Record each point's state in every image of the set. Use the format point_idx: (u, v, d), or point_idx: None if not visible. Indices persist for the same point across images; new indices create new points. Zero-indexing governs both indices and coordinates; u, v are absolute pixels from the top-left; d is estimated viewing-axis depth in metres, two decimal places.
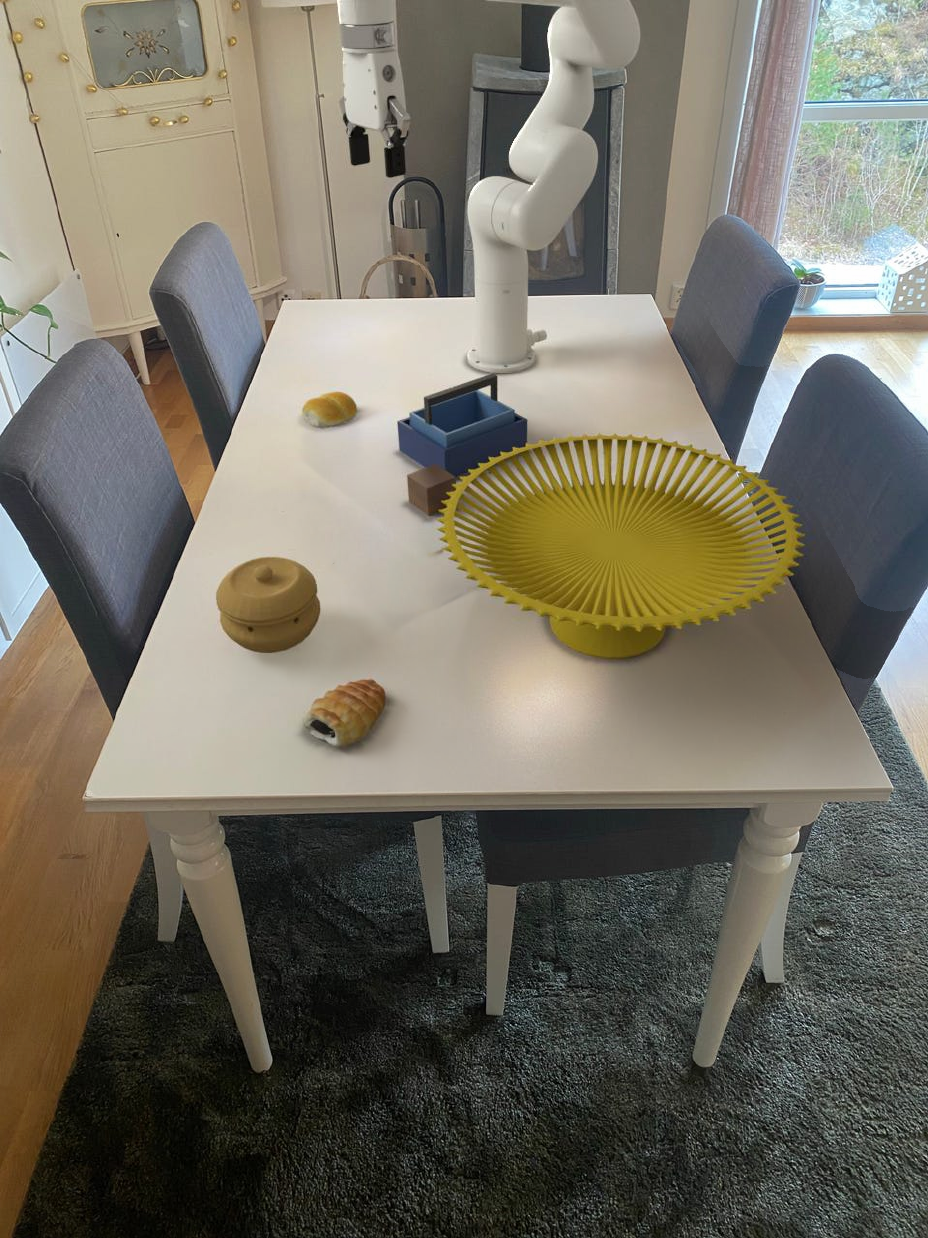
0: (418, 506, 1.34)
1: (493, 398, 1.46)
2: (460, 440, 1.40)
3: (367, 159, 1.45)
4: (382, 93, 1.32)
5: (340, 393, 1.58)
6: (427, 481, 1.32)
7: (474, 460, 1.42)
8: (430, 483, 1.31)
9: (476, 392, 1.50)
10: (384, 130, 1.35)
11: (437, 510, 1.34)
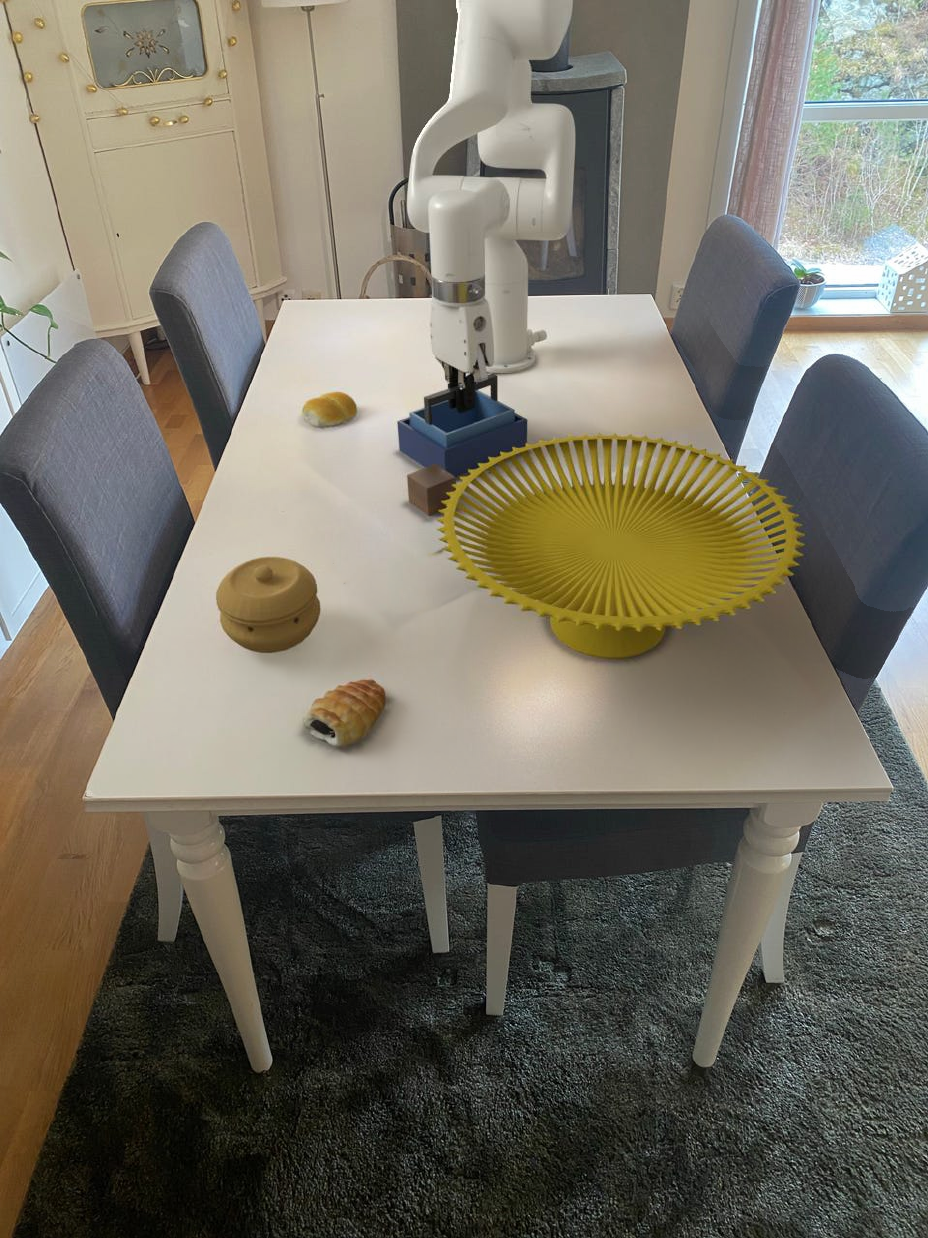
0: (418, 506, 1.34)
1: (493, 398, 1.46)
2: (460, 440, 1.40)
3: None
4: (472, 342, 1.32)
5: (340, 393, 1.58)
6: (427, 481, 1.32)
7: (474, 460, 1.42)
8: (430, 483, 1.31)
9: (476, 392, 1.49)
10: (462, 375, 1.38)
11: (437, 510, 1.34)
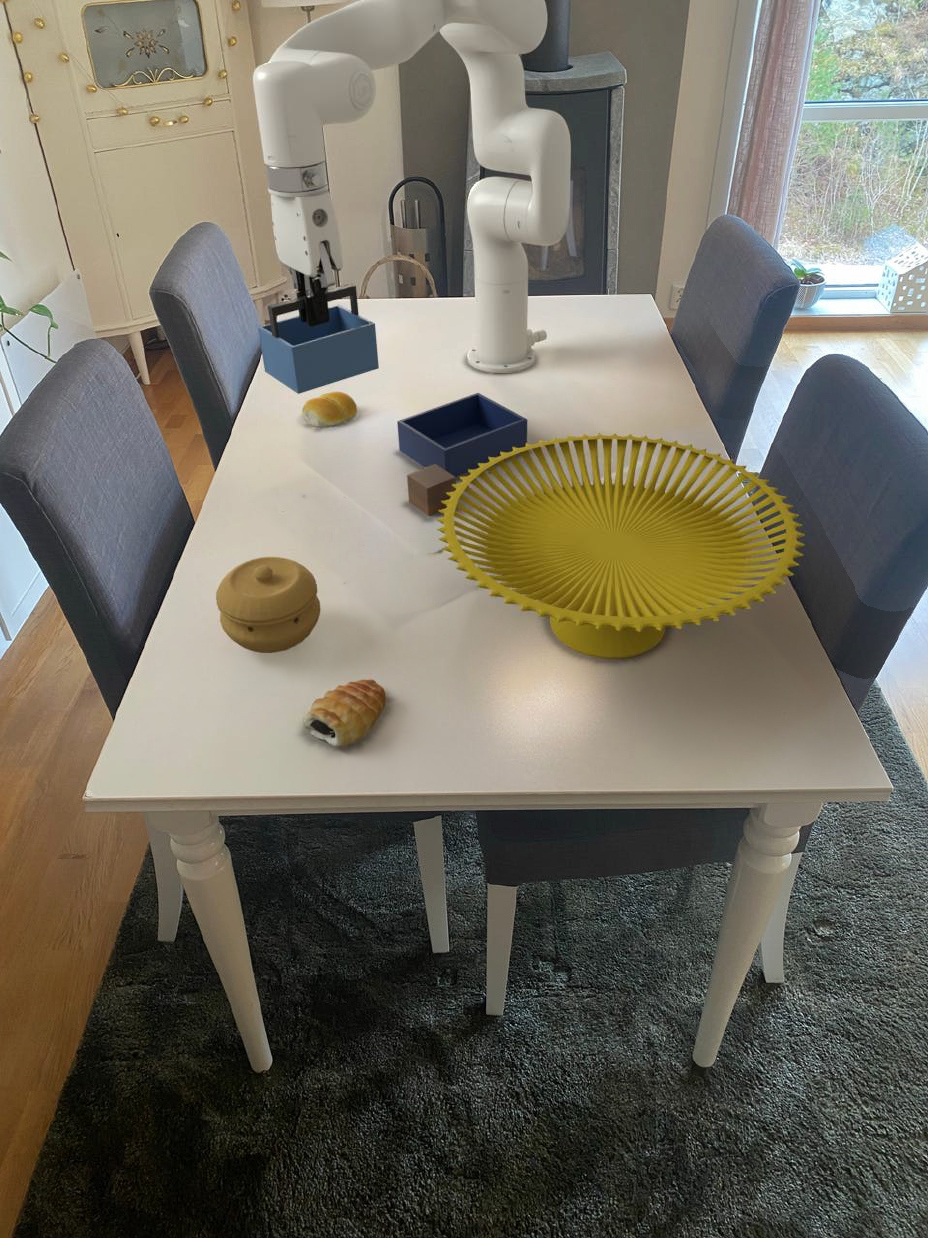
0: (418, 506, 1.34)
1: (354, 312, 1.32)
2: (309, 354, 1.25)
3: None
4: (313, 239, 1.18)
5: (340, 393, 1.58)
6: (427, 481, 1.32)
7: (474, 460, 1.42)
8: (430, 483, 1.31)
9: (338, 307, 1.35)
10: (308, 281, 1.23)
11: (437, 510, 1.34)
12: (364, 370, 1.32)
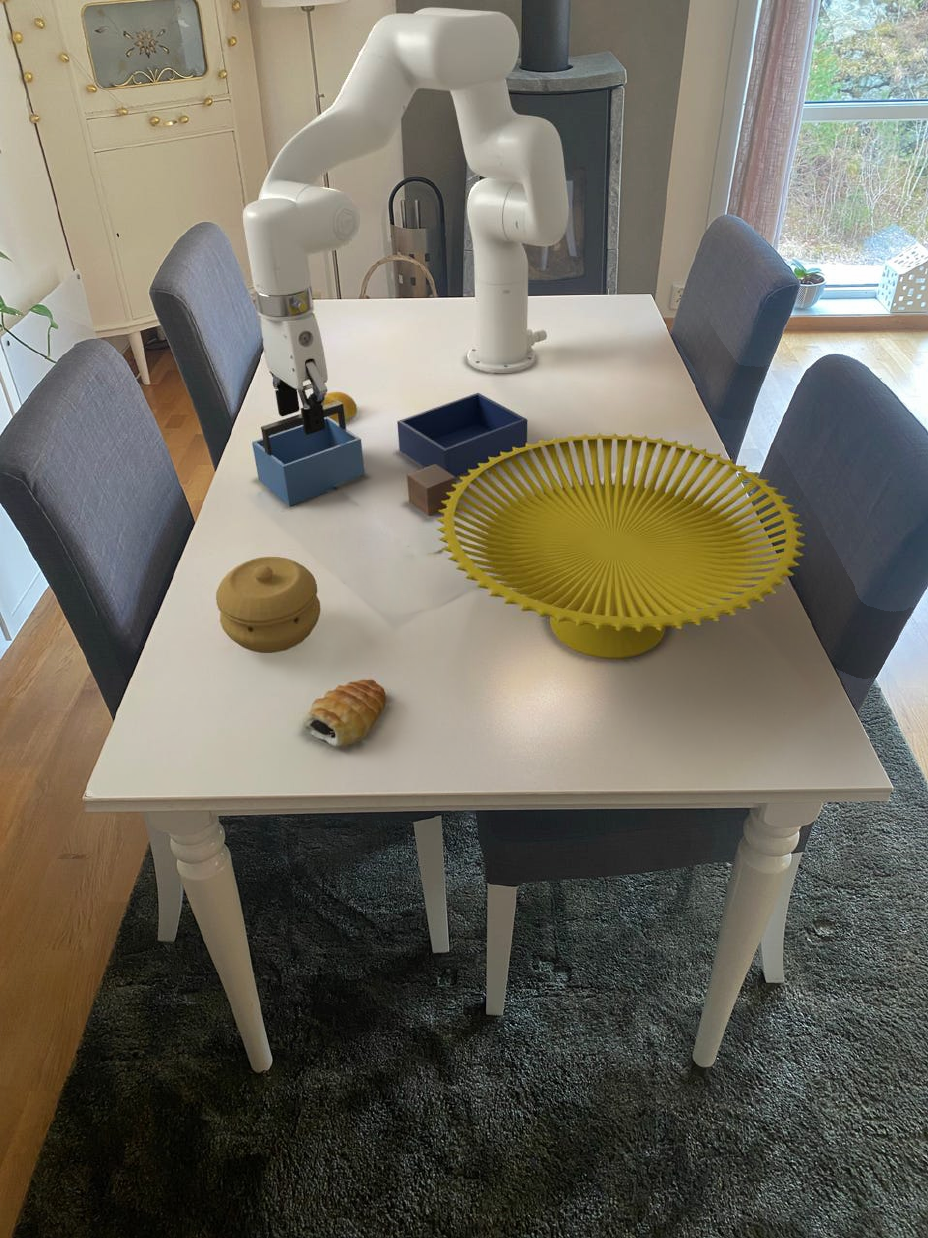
0: (418, 506, 1.34)
1: (341, 426, 1.42)
2: (300, 471, 1.35)
3: (296, 408, 1.39)
4: (299, 358, 1.26)
5: (340, 393, 1.58)
6: (427, 481, 1.32)
7: (474, 460, 1.42)
8: (430, 483, 1.31)
9: (327, 419, 1.45)
10: (301, 393, 1.30)
11: (437, 510, 1.34)
12: None
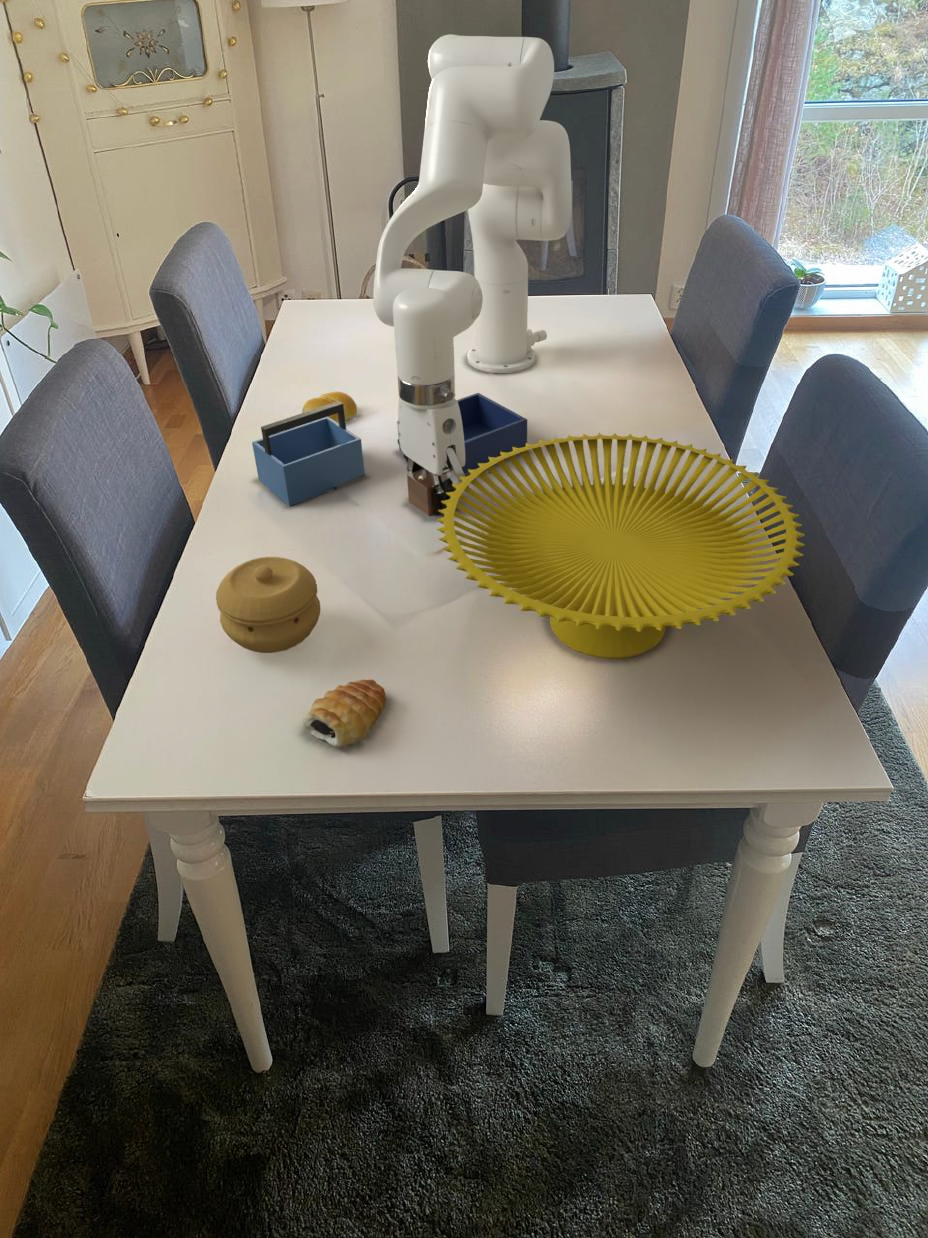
0: (418, 506, 1.34)
1: (341, 426, 1.42)
2: (300, 471, 1.35)
3: None
4: (441, 445, 1.25)
5: (340, 393, 1.58)
6: (427, 481, 1.32)
7: (474, 460, 1.42)
8: (430, 483, 1.31)
9: (327, 419, 1.45)
10: (437, 478, 1.29)
11: None
12: None
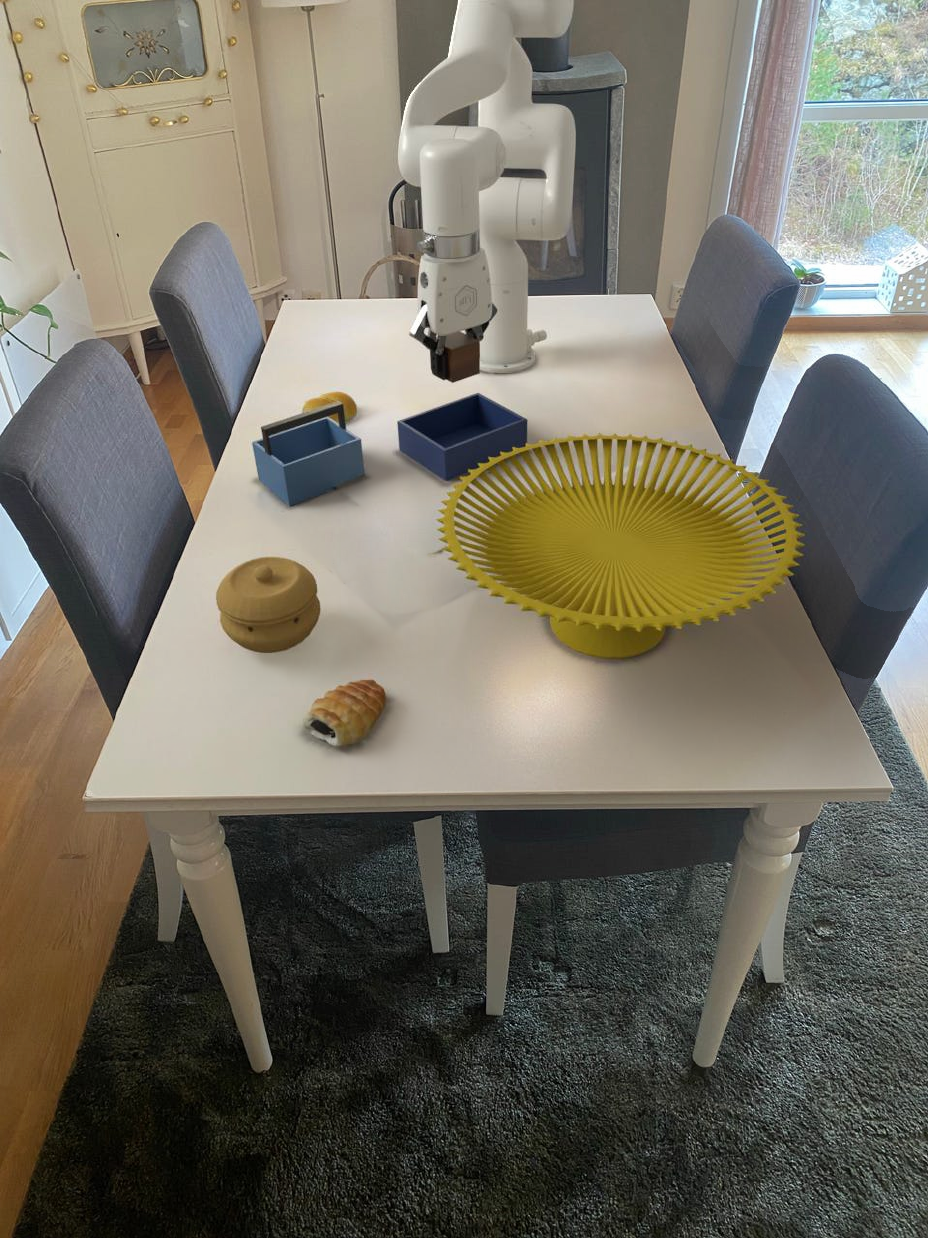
0: None
1: (341, 426, 1.42)
2: (300, 471, 1.35)
3: None
4: (418, 294, 1.29)
5: (340, 393, 1.58)
6: None
7: (474, 460, 1.42)
8: None
9: (327, 419, 1.45)
10: None
11: None
12: None
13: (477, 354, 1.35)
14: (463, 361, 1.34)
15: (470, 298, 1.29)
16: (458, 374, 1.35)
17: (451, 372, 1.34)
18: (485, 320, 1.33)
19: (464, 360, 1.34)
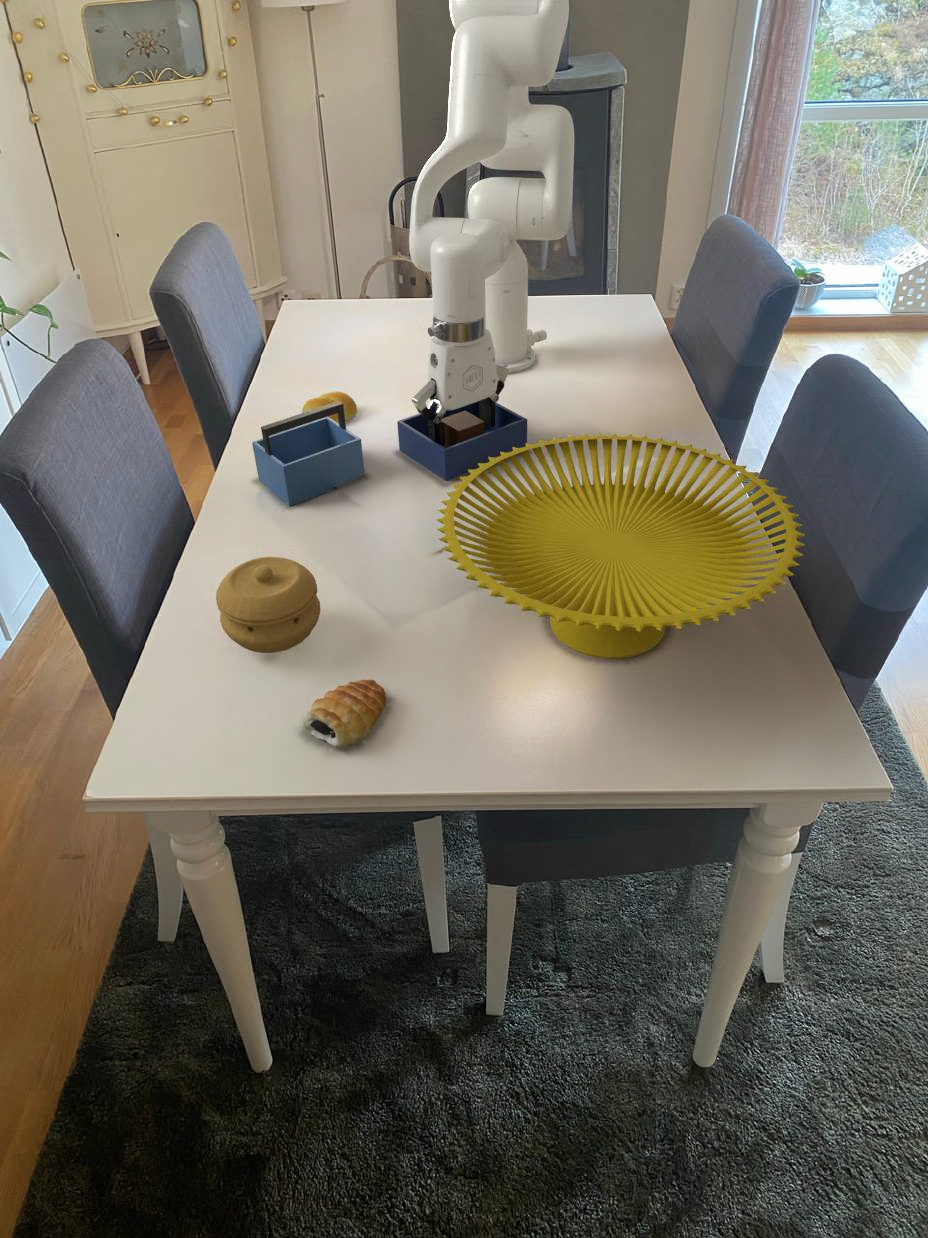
0: None
1: (341, 426, 1.42)
2: (300, 471, 1.35)
3: (489, 423, 1.48)
4: (428, 372, 1.38)
5: (340, 393, 1.58)
6: (451, 419, 1.45)
7: (474, 460, 1.42)
8: (448, 420, 1.45)
9: (327, 419, 1.45)
10: (431, 402, 1.41)
11: (446, 447, 1.47)
12: None
13: (483, 433, 1.46)
14: None
15: (476, 376, 1.39)
16: None
17: None
18: (490, 394, 1.42)
19: None
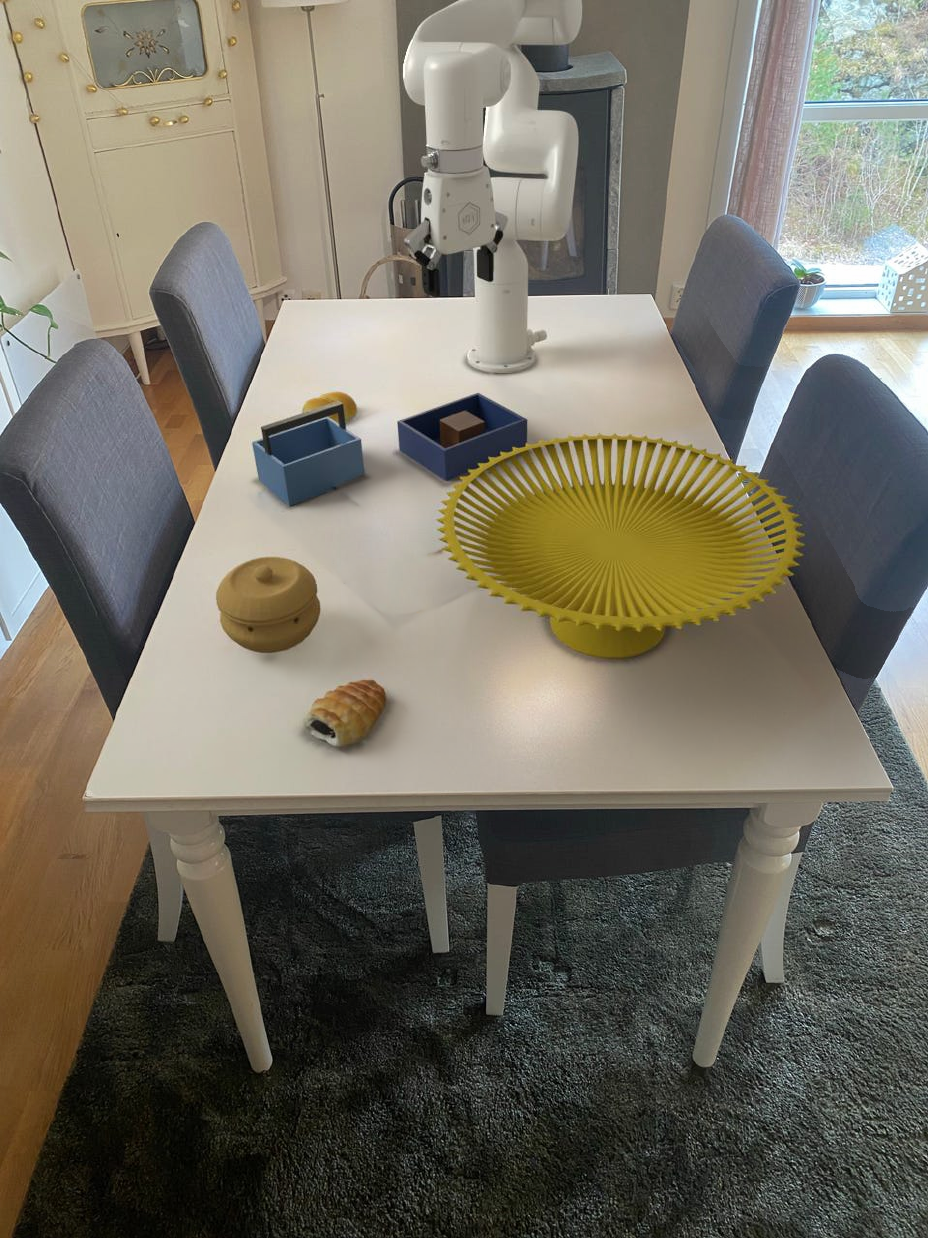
0: None
1: (341, 426, 1.42)
2: (300, 471, 1.35)
3: (487, 278, 1.38)
4: (422, 212, 1.29)
5: (340, 393, 1.58)
6: (451, 419, 1.45)
7: (474, 460, 1.42)
8: (448, 420, 1.45)
9: (327, 419, 1.45)
10: None
11: (446, 447, 1.47)
12: None
13: (483, 433, 1.46)
14: None
15: (473, 216, 1.30)
16: None
17: None
18: (488, 240, 1.33)
19: None
